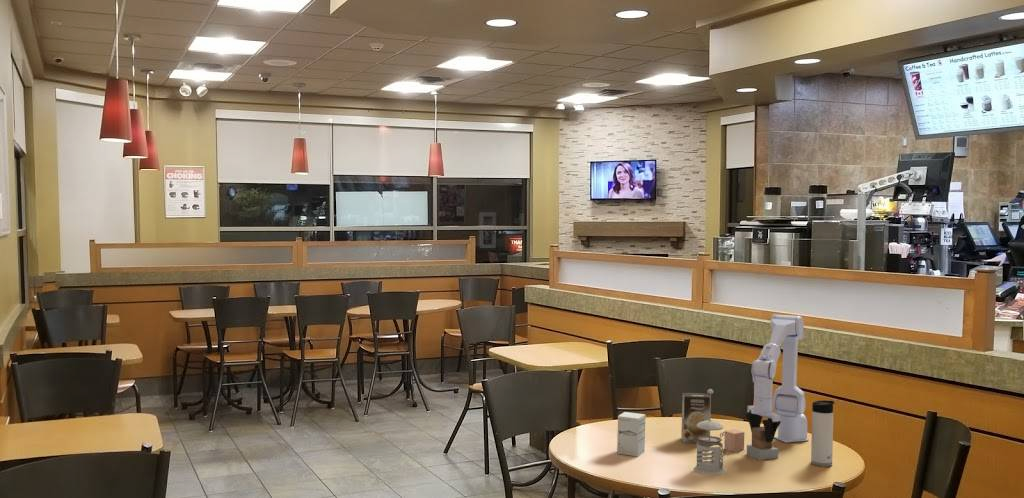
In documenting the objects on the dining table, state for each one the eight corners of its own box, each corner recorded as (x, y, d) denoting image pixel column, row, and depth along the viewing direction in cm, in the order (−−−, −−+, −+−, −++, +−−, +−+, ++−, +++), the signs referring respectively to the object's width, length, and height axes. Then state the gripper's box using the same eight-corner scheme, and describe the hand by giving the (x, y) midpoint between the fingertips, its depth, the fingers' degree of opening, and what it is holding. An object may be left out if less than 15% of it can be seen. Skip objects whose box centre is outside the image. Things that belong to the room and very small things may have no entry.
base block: (765, 452, 279) (765, 443, 279) (777, 458, 272) (778, 448, 272) (746, 454, 277) (746, 444, 277) (759, 460, 270) (759, 450, 270)
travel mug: (835, 467, 263) (836, 403, 262) (812, 466, 264) (813, 402, 263) (831, 461, 269) (832, 399, 268) (809, 460, 270) (810, 398, 269)
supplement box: (616, 454, 276) (616, 415, 276) (624, 448, 283) (624, 411, 282) (638, 457, 273) (638, 418, 272) (645, 451, 279) (646, 413, 279)
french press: (702, 463, 266) (703, 384, 265) (736, 470, 259) (738, 389, 258) (687, 470, 259) (688, 389, 258) (722, 478, 251) (723, 394, 250)
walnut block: (763, 444, 277) (763, 426, 277) (771, 448, 273) (772, 429, 273) (751, 445, 276) (751, 427, 276) (759, 449, 272) (760, 430, 271)
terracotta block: (733, 446, 286) (733, 429, 286) (744, 449, 282) (744, 431, 282) (724, 448, 284) (724, 430, 283) (734, 451, 280) (734, 433, 280)
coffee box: (682, 442, 290) (683, 396, 290) (681, 438, 297) (681, 392, 296) (710, 443, 289) (710, 397, 289) (707, 438, 296) (708, 393, 295)
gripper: (739, 393, 280) (739, 434, 280) (765, 402, 266) (765, 445, 266) (758, 392, 282) (757, 432, 282) (785, 401, 268) (784, 443, 269)
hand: (762, 438), depth 274 cm, fingers open, 7 cm apart
